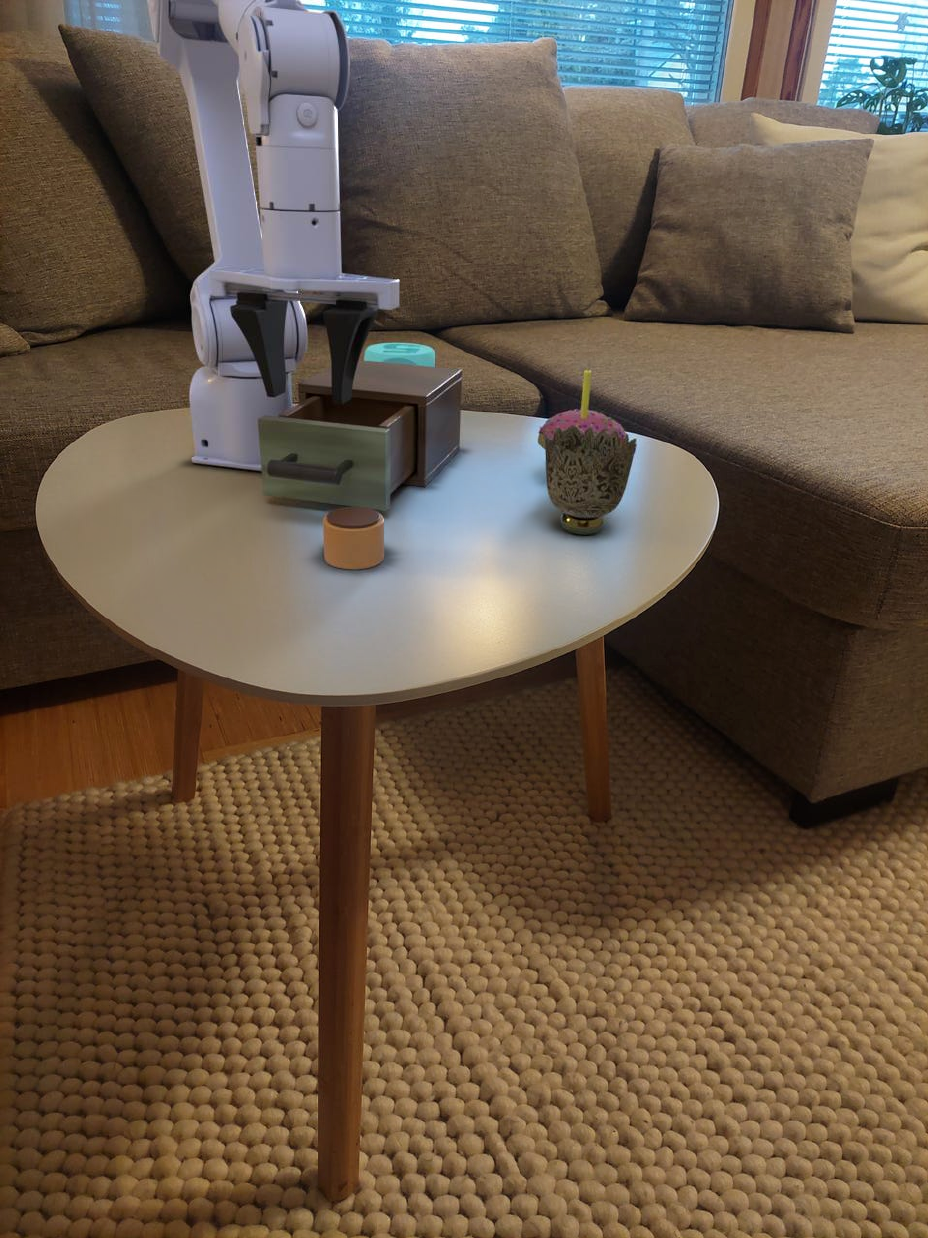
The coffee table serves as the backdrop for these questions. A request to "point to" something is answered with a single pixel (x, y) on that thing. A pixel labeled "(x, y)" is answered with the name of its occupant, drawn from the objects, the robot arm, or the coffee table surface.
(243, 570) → the coffee table surface
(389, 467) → the drawer
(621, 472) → the cup
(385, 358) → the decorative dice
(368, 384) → the cabinet
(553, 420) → the cupcake
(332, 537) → the orange short cylinder
